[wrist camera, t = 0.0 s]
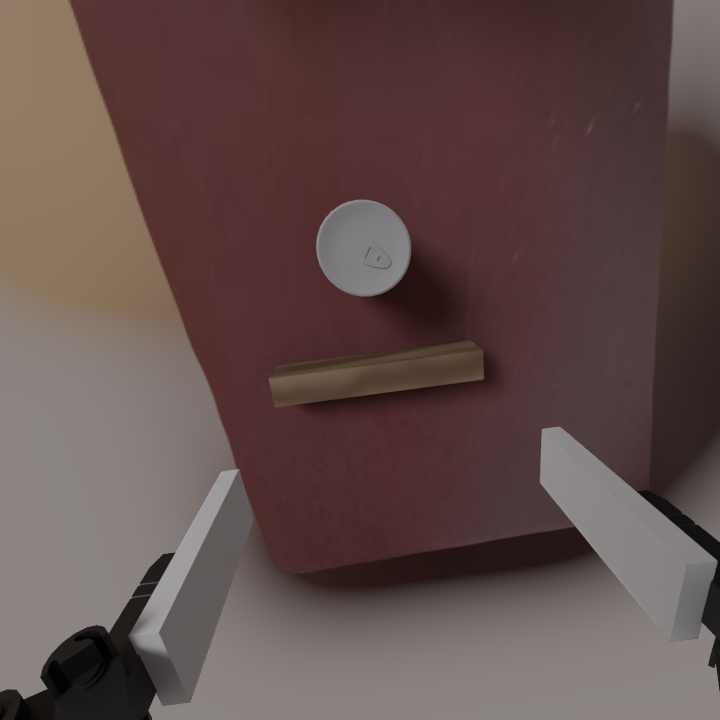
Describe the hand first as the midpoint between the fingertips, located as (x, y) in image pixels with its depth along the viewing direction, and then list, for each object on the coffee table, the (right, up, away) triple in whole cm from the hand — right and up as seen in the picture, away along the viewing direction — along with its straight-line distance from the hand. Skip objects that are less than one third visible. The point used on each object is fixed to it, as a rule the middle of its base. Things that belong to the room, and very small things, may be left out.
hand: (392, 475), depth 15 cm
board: (0, +4, +28) cm, 28 cm away
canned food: (-1, +17, +24) cm, 30 cm away
